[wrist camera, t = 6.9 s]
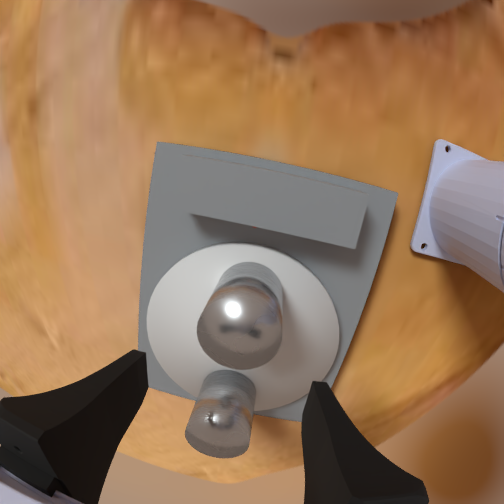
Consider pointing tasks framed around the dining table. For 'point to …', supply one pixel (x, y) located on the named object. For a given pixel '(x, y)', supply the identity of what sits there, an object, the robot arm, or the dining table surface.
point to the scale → (260, 251)
